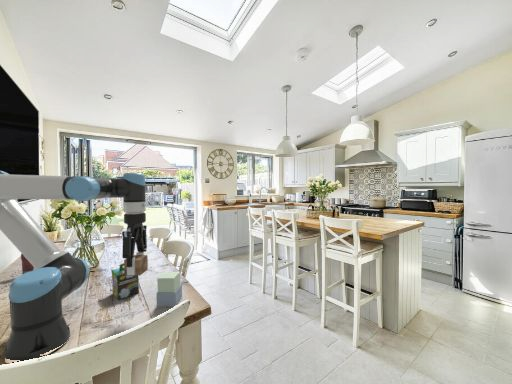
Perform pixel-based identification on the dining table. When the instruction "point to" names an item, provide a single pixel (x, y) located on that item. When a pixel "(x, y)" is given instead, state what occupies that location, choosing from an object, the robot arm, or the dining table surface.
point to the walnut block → (138, 265)
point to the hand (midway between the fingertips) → (135, 271)
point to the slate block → (169, 297)
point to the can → (26, 265)
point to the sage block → (168, 282)
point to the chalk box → (124, 283)
